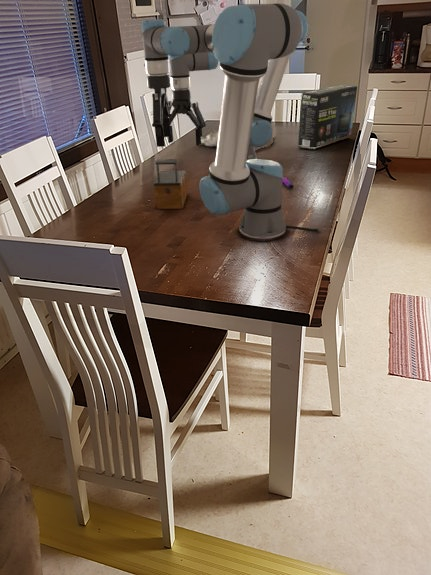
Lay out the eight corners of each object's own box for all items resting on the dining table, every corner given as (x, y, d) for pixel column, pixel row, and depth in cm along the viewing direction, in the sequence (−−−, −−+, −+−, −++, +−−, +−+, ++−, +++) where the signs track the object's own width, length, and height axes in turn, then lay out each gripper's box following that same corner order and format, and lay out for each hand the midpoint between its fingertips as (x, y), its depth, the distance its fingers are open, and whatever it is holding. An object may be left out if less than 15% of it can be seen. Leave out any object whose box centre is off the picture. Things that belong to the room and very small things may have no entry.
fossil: (220, 142, 238) (201, 123, 241) (210, 159, 244) (191, 141, 248) (238, 140, 252) (219, 123, 255) (227, 157, 258) (210, 139, 261)
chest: (182, 208, 170) (180, 185, 166) (156, 208, 171) (154, 185, 166) (186, 195, 182) (185, 173, 178) (163, 195, 183) (160, 173, 178)
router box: (314, 151, 231) (318, 94, 217) (296, 148, 237) (299, 92, 224) (352, 138, 251) (358, 85, 238) (335, 135, 258) (340, 83, 245)
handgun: (261, 176, 200) (261, 171, 199) (278, 174, 201) (278, 169, 200) (275, 191, 183) (275, 186, 182) (294, 188, 184) (294, 184, 183)
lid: (180, 185, 165) (178, 160, 160) (154, 185, 166) (151, 161, 161) (185, 173, 177) (183, 149, 173) (160, 173, 178) (158, 150, 174)
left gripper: (149, 89, 184) (154, 143, 195) (203, 91, 173) (206, 148, 184) (159, 86, 189) (164, 139, 200) (213, 88, 179) (215, 143, 190)
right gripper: (153, 70, 159) (159, 133, 170) (138, 79, 138) (146, 150, 149) (174, 69, 159) (179, 132, 170) (163, 79, 138) (169, 150, 149)
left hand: (184, 143), depth 192 cm, fingers open, 13 cm apart
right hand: (164, 141), depth 159 cm, fingers open, 13 cm apart
